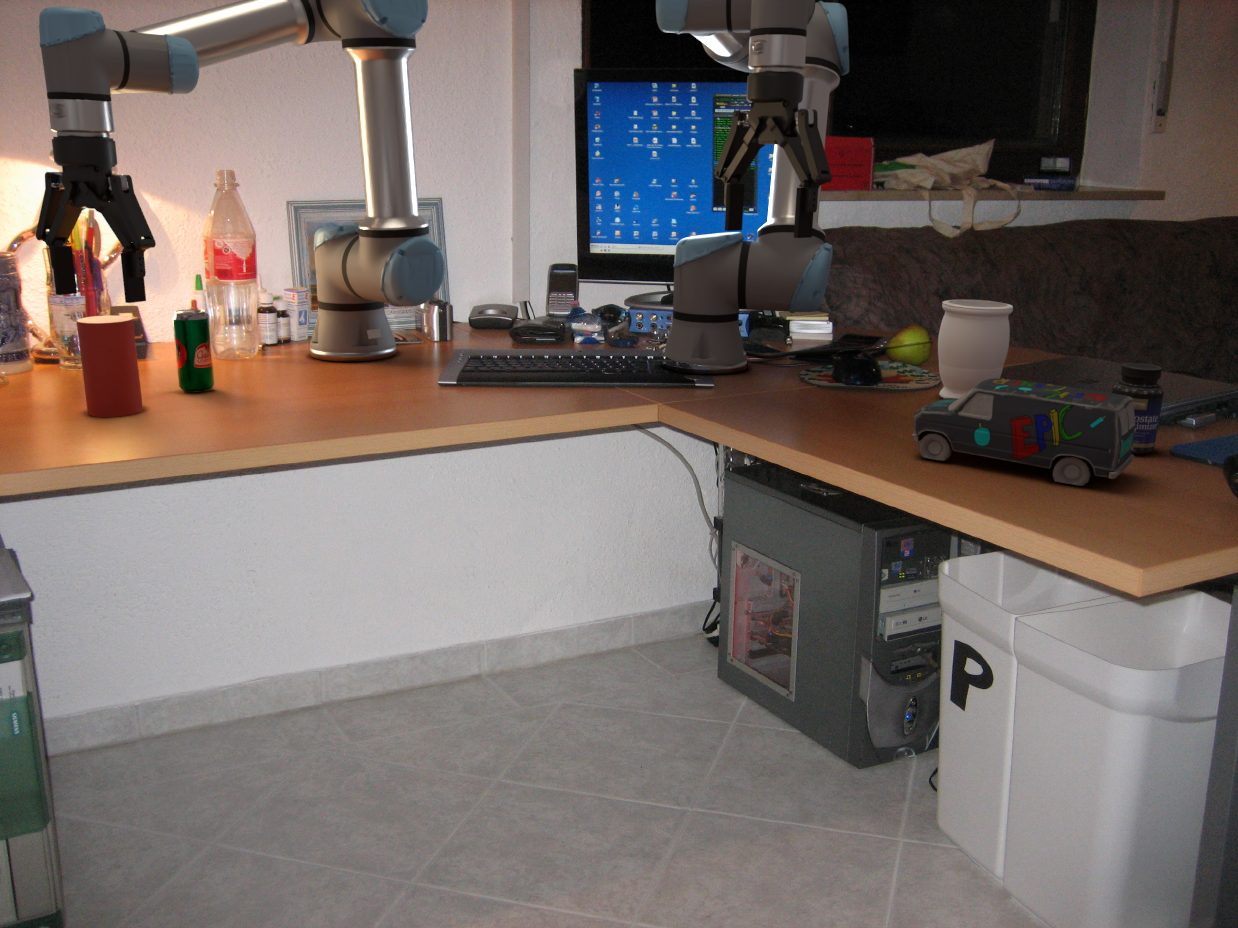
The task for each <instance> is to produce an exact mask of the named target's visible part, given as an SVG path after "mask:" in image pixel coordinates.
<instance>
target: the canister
mask: <svg viewBox="0 0 1238 928" xmlns="http://www.w3.org/2000/svg"><path fill="white" fill-rule="evenodd" d="M75 321H76V330H77V338H78V344H79V345H78V346H79V354H80V360H81V361H80V362H81V369H82V378H83V387H84V393H85V403H86V409H87V415H89V416H91V417H97V418H117V417H119V418H120V417H126V416H131V415H135V414H138V413H140V412H142V411H143V410H144V407H143V399H142V398H143V397H142V391H141V390H142V389H141V380H140V371H139V361H138V353H137V352H138V351H137V343H136V334H135V326H134V318H133V317H132V316H128V315H95V316H87V317H81V318H77V319H76V320H75Z"/></svg>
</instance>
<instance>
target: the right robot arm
mask: <svg viewBox="0 0 1238 928" xmlns="http://www.w3.org/2000/svg"><path fill="white" fill-rule="evenodd" d="M655 16H656V17H655V18H656V23H657V26H658V29H659V30H660V31H661V32H663V33H671V34H672V33H673V34H676V35H680V34H690V35H691V36H693V37H694V38H696V40H698V41H700V42H701V45H702V47H703V49H704V51H705V52H706V54H707V55H708V56H709V57H710V58H711V59H712V60H714V61H715V62H717V63H719V64H721V65H724V66H726V67H729V68H731V69H734V70H736V71H741V72H744V73H749V74H748V75H747V80H746V101H747V102H748V103H750V109H749V110H741V109H740V110H739V109H735V110H734V111H732V116H731V124H730V129H729V131H728V134H727V137H726V139H725V142H724V145H723V147H722V150H721V153H720V155H719V158H718V161H717V163H716V165H715V169H714V171H713V175H714V178H715V179H719V180H721V181H722V182H723V185H724V188H723V205H724V206H723V207H725V215H724V216H725V217H724V231H726V232H717V233H708V234H700V235H699V234H697V235H692V236H687V237H684V238H681V239H680V240H679V241H678V242H677V243H676V245H675V252H674V261H673V262H674V263H673V264H672V268H673V291H672V292H673V293H672V294H673V295H672V296H673V298H672V321H671V326H670V329H669V332H668V334H667V337H666V338H665V339H664V342H663V343H662V344H663V345H665V346H664V348H663V349H662V350H661V356H662V355H664V356H666V357H668V358H669V359H671V360H674V361H676V362H680V363H686V364H694V365H698V366H703V367H709V368H710V369H690V368H682V367H676V366H671V365H668V364H663V365H664V366H665V367H667V368H669V369H668V370H670V369H671V370H670V371H674V372H680V373H685V374H686V373H687V374H695V375H696V374H697V375H698V374H699V375H702V374H703V375H724V374H733V373H738V372H742V371H744V370H746V369H747V367H748V357H753V358H757V359H761V360H774V359H775V360H776V359H781V358H785V357H786V358H787V357H792V356H793V357H794V356H801V355H802V356H805V355H819V354H831V353H833V354H834V353H839V352H838V351H840V350H843V349H864V348H868V347H872V346H867V345H858V346H857V347H856V346H848V347H847V346H845V347H846V348H844V347H833V348H832V349H831V348H818V350H816V349H803V350H801V349H800V350H792V351H785V352H779V353H772V354H764V353H763V354H762V353H758V352H755V351H748V350H744V342H743V337H742V333H741V328H740V310H748V311H749V310H750V311H751V310H752V311H768V312H769V311H770V312H785V313H786V312H787V313H790V314H794V313H812V312H816V311H817V310H818V309H819V308H820V307H821V306H822V303H823V300H824V297H825V293H826V289H827V286H828V282H829V277H830V273H831V265H832V260H833V254H834V247H833V245H832V244H829V243H828V242H826V233H825V231H824V230H823V229H822V228H821V227H820V226H819V215H820V214H819V213H820V205H821V204H820V203H821V191H822V185H825V184H829V183H831V182H832V179H833V175H832V172H831V167H830V165H829V161H828V158H827V154H826V150H825V147H826V138H827V127H828V113H829V103H830V93H832V92H833V91H834V90H836V89H837V88H838V87H839V85H840V81H841V76H842V77H843V76H845V75H847V74H849V72H850V52H849V51H850V49H849V24H848V23H849V22H848V12H847V8H846V7H845V6H844V4H842V3H839V2H824V1H823V0H819V1H818V2H816V0H655ZM766 145H774V147H773V156H772V157H773V158H772V169H771V179H770V190H769V198H768V199H769V201H768V211H767V221H766V222H765V223H764V224H763V225H762V226H760V227H759V228H758V229H757V232H756V234H757V235H756V240H745V237H744V234H743V233H742V232H740V231H743V221H744V202H745V201H744V200H745V183H744V180H743V178H744V176H745V173H747V170H748V169H749V168H750V166H751V165H752V163H753V161H754V160H755V158H756V156H757V154H759V152H760V151H761V149H762V148H764V147H765V146H766ZM930 340H931V341H932V338H931V337H930ZM875 345H876V344H875ZM876 346H877V345H876ZM667 368H666V369H667Z"/></svg>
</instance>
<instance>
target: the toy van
mask: <svg viewBox="0 0 1238 928" xmlns="http://www.w3.org/2000/svg"><path fill="white" fill-rule="evenodd" d="M1135 431H1136V423H1135V415H1134V405H1133V398H1131V397H1130V396H1125V395H1118V394H1112V392H1104V391H1098V390H1093V389H1085V388H1079V387H1073V386H1072V387H1071V386H1065V385H1059V384H1052V383H1043V382H1037V381H1028V380H1020V379H1008V378H1002V377H1000V378H994V379H988V380H984V381H982V382H980V383H979V384H977V385H976V386H975V387H974V388H972V389H971V390H970V391H968V392H967V393H966V394H965V395H963V396H962V397H960V398H941V399H938V400H936V401H933V402H930V403H928V404H926V405H924V406H922V407H921V408H919V409H918V410H916V411H914V417H913V432H912V434H911V436H912V439H913V442H914V443H919V444H918V449H919V450H918V452H919V454H920V455H921V457H922V458H925V459H929V460H935V461H941V462H947V460H948V459H949V458H950V457H951V456H952V452H956V453H963V454H969V455H974V456H980V457H986V458H991V459H997V460H1002V461H1006V462H1007V461H1008V462H1012V463H1018V464H1022V465H1023V464H1024V465H1029V466H1034V467H1039V468H1042V469H1043V468H1044V469H1052V468H1053V469H1052V478H1053V480H1054V482H1057V483H1061V484H1068V485H1073V486H1080V487H1082V486H1085V485H1086V484H1087V483H1088V482H1089V481H1090V479H1091V476H1092V474H1093V475H1094V476H1095V477H1101V478H1102V477H1103V478H1108V479H1110V480H1115V479H1116V478H1118V477H1119V476H1120V475H1121V474H1122V473H1123V472H1124V471H1125V470H1126V469H1127V467H1128V466H1129V465H1130V464H1131V463H1132V461H1133V460H1134V458H1135V455H1134V453H1131V451H1132V450H1133V441H1134V436H1135Z"/></svg>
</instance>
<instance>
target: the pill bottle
mask: <svg viewBox="0 0 1238 928" xmlns="http://www.w3.org/2000/svg"><path fill="white" fill-rule="evenodd" d="M1162 371H1163V367H1161V366H1158V365H1155V364H1149V363H1142V362H1141V363H1140V362H1126V363H1122V365H1121V369H1120V375H1121V380H1119V381H1116V382H1115V383H1114V384H1113V385H1112V388H1111V393H1112V394H1118V395H1125V396H1130V397H1131V398H1133V405H1134V415H1135V423H1136V431H1135V436H1134V441H1133V450H1132V451H1131V454H1140V455H1141V454H1148V453H1151V452H1153V451H1154V450H1155V448H1156V440H1157V435H1158V428H1159V424H1160V419H1161V418H1160V417H1161V412H1162V407H1163V399H1164V395H1165V391H1164V389H1163V387H1162V386H1161V385H1159V383H1158V381H1159V380H1160V379H1161V377H1162Z"/></svg>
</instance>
